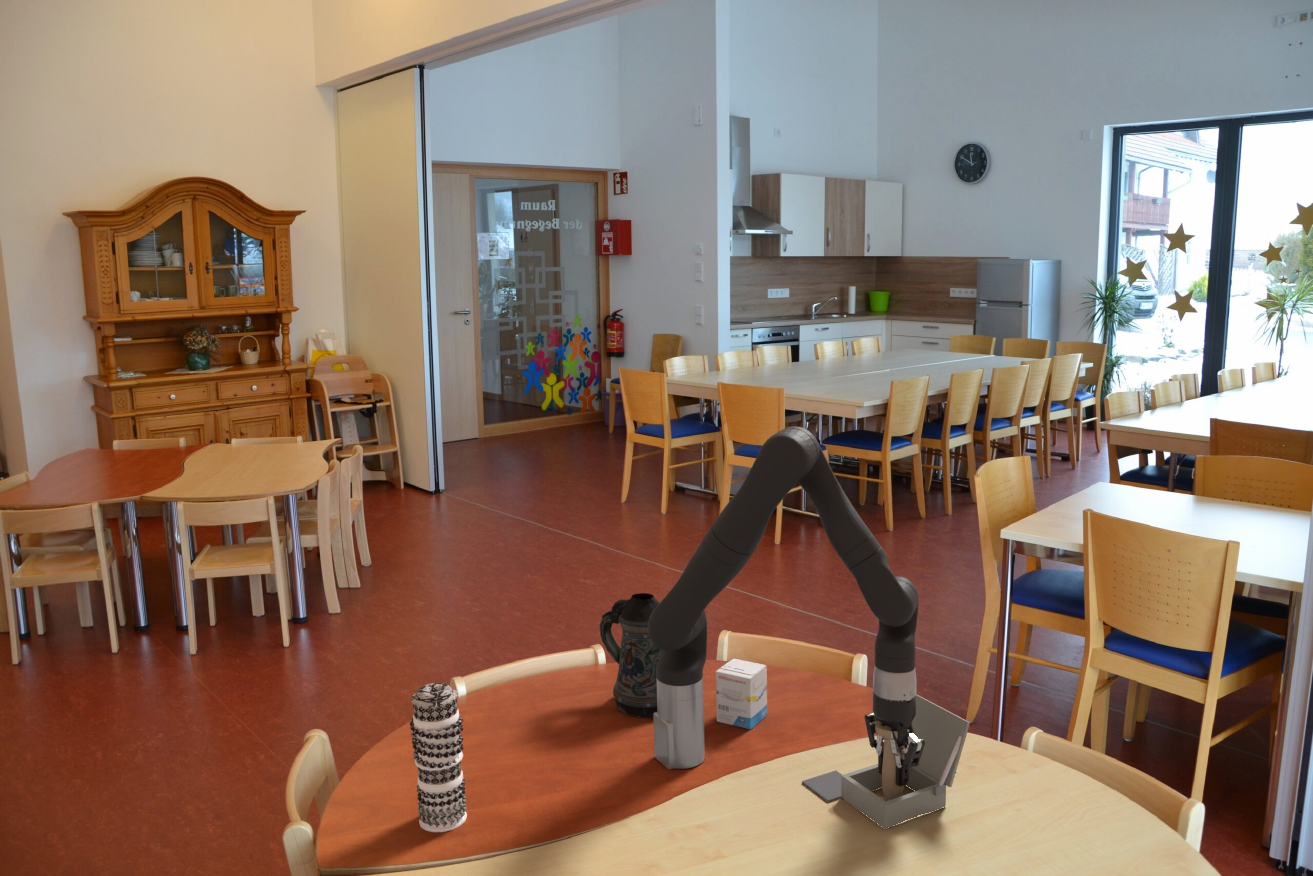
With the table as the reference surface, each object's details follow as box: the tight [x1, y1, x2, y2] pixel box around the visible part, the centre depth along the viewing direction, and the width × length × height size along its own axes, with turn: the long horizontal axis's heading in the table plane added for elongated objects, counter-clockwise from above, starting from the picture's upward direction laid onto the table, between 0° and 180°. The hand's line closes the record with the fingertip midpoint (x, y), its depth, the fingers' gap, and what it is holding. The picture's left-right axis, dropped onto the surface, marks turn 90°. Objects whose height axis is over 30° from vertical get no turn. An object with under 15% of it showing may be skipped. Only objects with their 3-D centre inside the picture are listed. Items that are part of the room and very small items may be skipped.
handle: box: [876, 721, 905, 801], centre depth 177 cm, size 5×6×15 cm
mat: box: [801, 770, 843, 803], centre depth 184 cm, size 8×8×1 cm
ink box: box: [715, 658, 768, 730], centre depth 213 cm, size 8×8×12 cm
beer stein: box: [599, 592, 663, 719], centre depth 221 cm, size 16×19×25 cm
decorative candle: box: [409, 682, 468, 833], centre depth 175 cm, size 9×9×25 cm
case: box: [840, 693, 971, 830], centre depth 178 cm, size 18×14×16 cm
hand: (893, 778), depth 177 cm, fingers closed on handle, 4 cm apart
